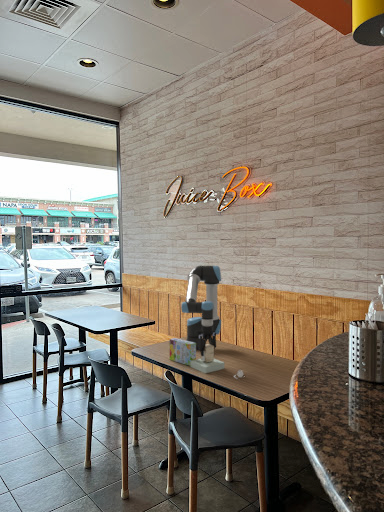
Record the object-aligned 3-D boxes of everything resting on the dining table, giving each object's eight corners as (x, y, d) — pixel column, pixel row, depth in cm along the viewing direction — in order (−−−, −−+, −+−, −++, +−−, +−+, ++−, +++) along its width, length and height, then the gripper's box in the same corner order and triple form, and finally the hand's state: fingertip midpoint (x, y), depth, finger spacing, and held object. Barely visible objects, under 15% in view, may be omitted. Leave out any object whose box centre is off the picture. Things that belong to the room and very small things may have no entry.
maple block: (201, 360, 262) (201, 345, 261) (208, 358, 265) (208, 343, 265) (206, 362, 257) (206, 347, 256) (213, 360, 260) (213, 345, 260)
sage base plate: (190, 366, 263) (190, 360, 263) (209, 362, 272) (209, 356, 272) (205, 373, 250) (205, 367, 250) (224, 368, 259) (224, 362, 259)
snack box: (196, 364, 268) (196, 342, 267) (190, 366, 264) (190, 344, 263) (174, 358, 282) (174, 337, 281) (168, 359, 278) (168, 338, 277)
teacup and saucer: (238, 373, 250) (238, 367, 250) (249, 376, 245) (249, 370, 245) (231, 377, 244) (231, 371, 243) (242, 380, 238) (242, 374, 238)
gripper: (199, 328, 251) (199, 363, 252) (222, 324, 262) (222, 358, 263) (192, 325, 257) (192, 360, 258) (214, 322, 268) (214, 355, 270)
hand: (207, 359), depth 261 cm, fingers closed on maple block, 6 cm apart
